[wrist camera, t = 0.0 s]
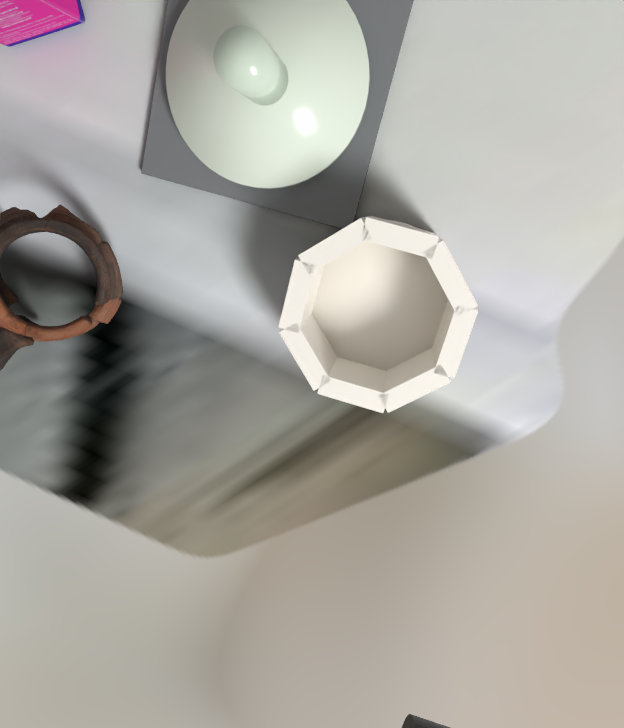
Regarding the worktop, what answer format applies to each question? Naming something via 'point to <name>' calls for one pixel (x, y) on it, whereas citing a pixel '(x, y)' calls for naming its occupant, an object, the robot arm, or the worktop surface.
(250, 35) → the lid
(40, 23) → the supplement box
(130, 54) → the worktop surface
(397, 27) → the mat
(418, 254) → the bowl
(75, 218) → the pottery mug
